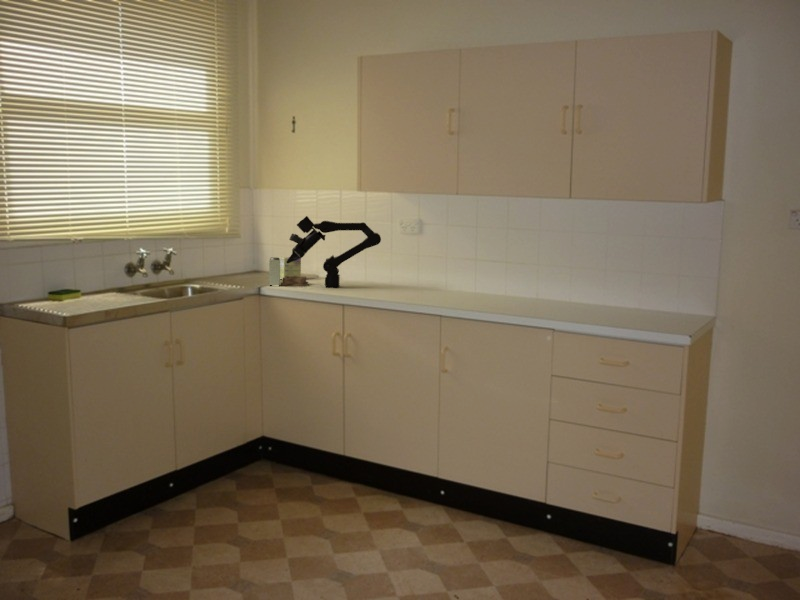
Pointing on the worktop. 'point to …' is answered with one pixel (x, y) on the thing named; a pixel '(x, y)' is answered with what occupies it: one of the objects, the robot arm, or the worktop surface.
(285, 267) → the box
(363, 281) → the worktop surface
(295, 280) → the brown wooden frame
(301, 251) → the robot arm
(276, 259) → the tin
